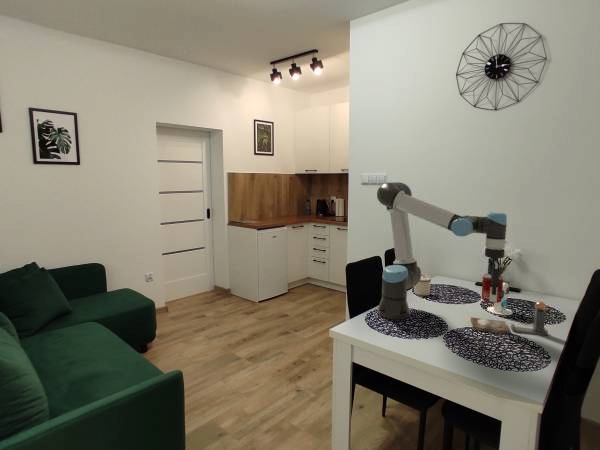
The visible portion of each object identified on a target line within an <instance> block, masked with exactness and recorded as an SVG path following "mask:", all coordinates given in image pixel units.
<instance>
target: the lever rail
mask: <svg viewBox="0 0 600 450" xmlns="http://www.w3.org/2000/svg"><path fill="white" fill-rule="evenodd" d="M510 329H511V331H512V332H514V333H520V334H521V333H522V334H529V335H536V336H544V337H548V336H549V335H548V332H549V331H548V330H547V329H546V327H544V333H542V332H535V330H534V329H533V328H529V327H522V326H516V325H515V324H514V323H511V325H510Z"/></svg>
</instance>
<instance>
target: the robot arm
mask: <svg viewBox="0 0 600 450" xmlns="http://www.w3.org/2000/svg"><path fill="white" fill-rule="evenodd" d="M376 199H377V200H378V202H379V204H380V205H382V206H384V207H386V211H387V212H388V213H389V214H390V215H389V216H390V223H391V229H392V238H393V239H392V240H393V247H394V254H395V259H394V261H393V262H392V263H393V264H392V265H387V266H385V267H384V268H383V271H382V282H381V283H382V285H381V300H380V301H379V302H380V303H379V305H378V307H377V314H378V315H379V316H380V317H381V318H385V319H389V320H394V321H395V320H396V321H400V320H401V321H402V320H407V319H409V317H411V316H410V313H411V312H410V307H409V304H408V300H407V296H408V290H409V289H411V288H413V286H414V287H415V285H416V284H417V283H418V282H419V281H420V279H421V274H422V269H421V268H420V267H419V266H418V262H417V259H415V258H414V256H413V247H412V240H411V239H412V238H411V230H410V222H409V215H408V214H410V215H412V216H415V217H416V218H420V219H422V220H424V221H427V222H428V223H431V224H434V225H436V226H438V227H440V228H444V229H446V230H448V231H450V232H452V234H453V235H455V236H456V237H467V236H469V235H471V234H483V235H485V248H484V249H485V250H484V256H485V257H486V258H488V260H487V261H488V262H487V263H488V264H487V274H491V285H489V287H490V299H489V301H491V302H490V303H494V302H497V289H498V287H499V275H500V267H501V262H500V261H499V259H504V258H505V246H506V244H507V240H506V236H507V226H508V225H507V221H508V220H507V214H506V213H503V212H488V213H487V215H486V216H475V215H459V214H456V213H454V212H453V211H450V210H446V209H444V208H441V207H439V206H437V205H434V204H431V203H429V202H426V201H424V200H421V199H419V198H416V197H414V196H413V195H412V190H411V188H410V186H408V185H407V184H406V183H403V182H399V181H397V182H386V183H382V184H381V185H380V186H379V188H378V189H377V192H376Z"/></svg>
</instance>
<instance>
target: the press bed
mask: <svg viewBox="0 0 600 450" xmlns="http://www.w3.org/2000/svg"><path fill="white" fill-rule="evenodd" d="M470 322H471V325H472V329H473V331H478V332H479V331H480V332H488V333H496V334H500V335H501V334H504V335H510V333H511V332H510V329H509V327H508V325H507V324H506V321H505V320H496V319H488V318H479V317H474V316H473V317H471V316H470Z"/></svg>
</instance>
